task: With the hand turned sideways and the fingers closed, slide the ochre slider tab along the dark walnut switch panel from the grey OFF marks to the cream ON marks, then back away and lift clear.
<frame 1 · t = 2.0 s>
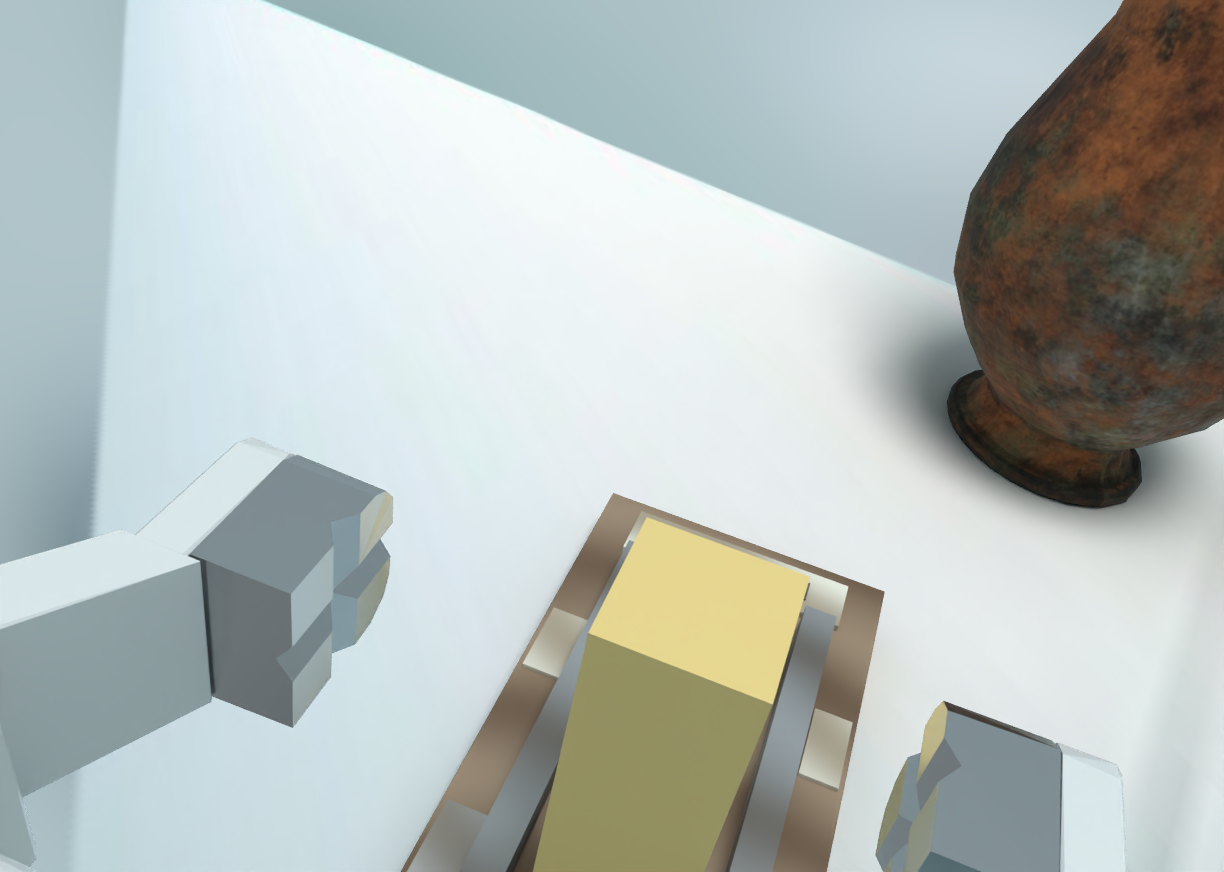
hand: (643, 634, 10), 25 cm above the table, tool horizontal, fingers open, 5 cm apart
slider tab: (646, 783, 28), point 9 cm above the table, slide at 0.0 cm
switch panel: (642, 818, 37), on the table
brown vase: (1062, 467, 58), on the table
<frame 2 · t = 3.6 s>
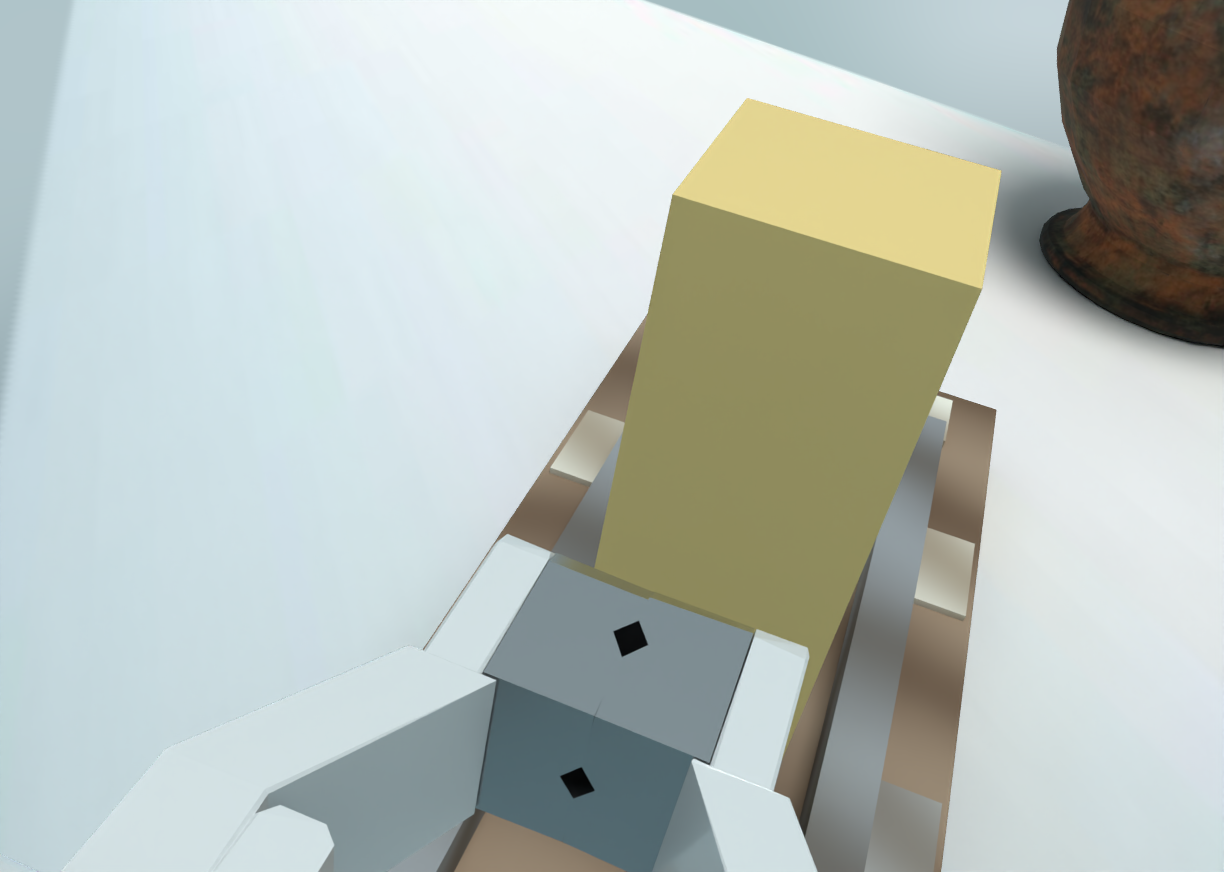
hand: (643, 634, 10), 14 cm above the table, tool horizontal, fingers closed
slider tab: (739, 532, 19), point 9 cm above the table, slide at 0.0 cm
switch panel: (708, 658, 29), on the table
brown vase: (1180, 308, 49), on the table
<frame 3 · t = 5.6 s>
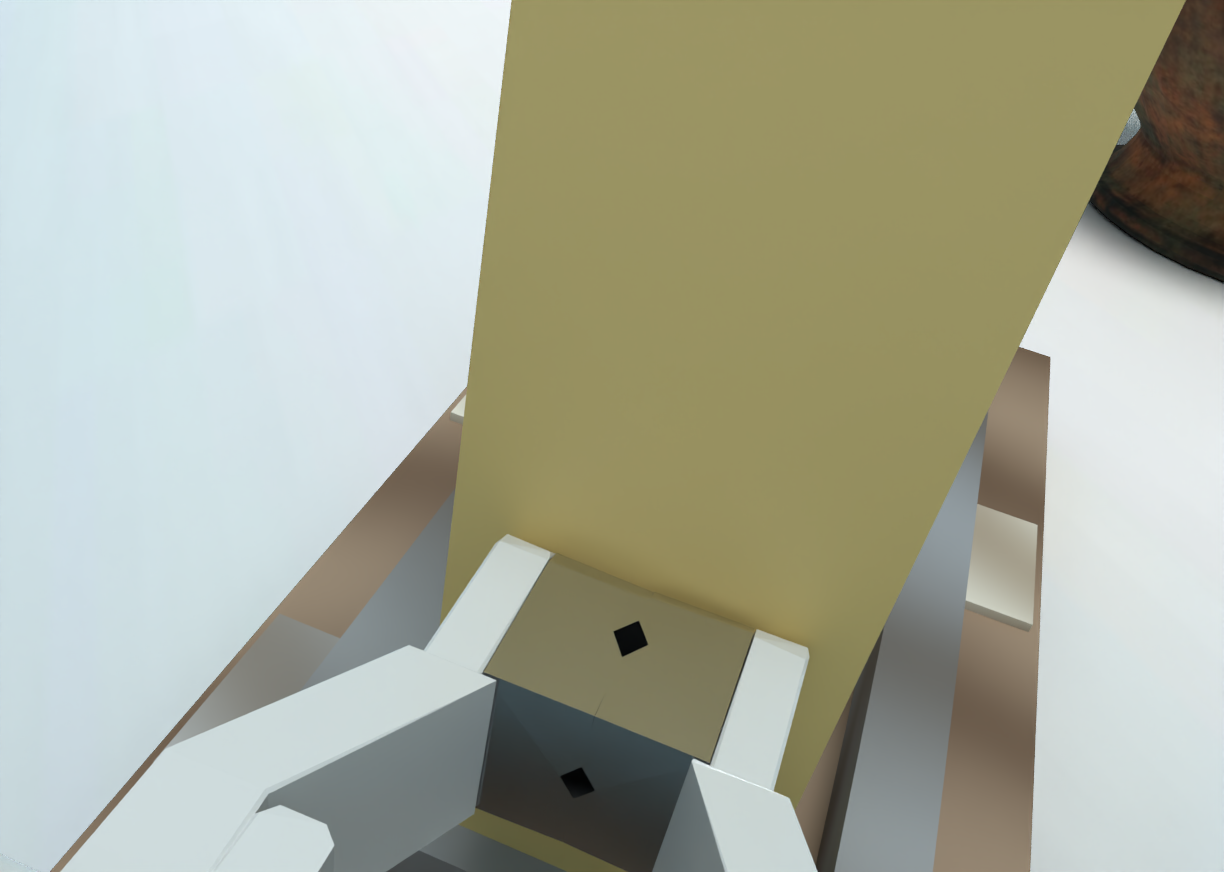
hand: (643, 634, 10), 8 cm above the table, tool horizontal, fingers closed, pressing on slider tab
slider tab: (716, 438, 11), point 9 cm above the table, slide at 0.6 cm, touching gripper
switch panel: (666, 682, 20), on the table
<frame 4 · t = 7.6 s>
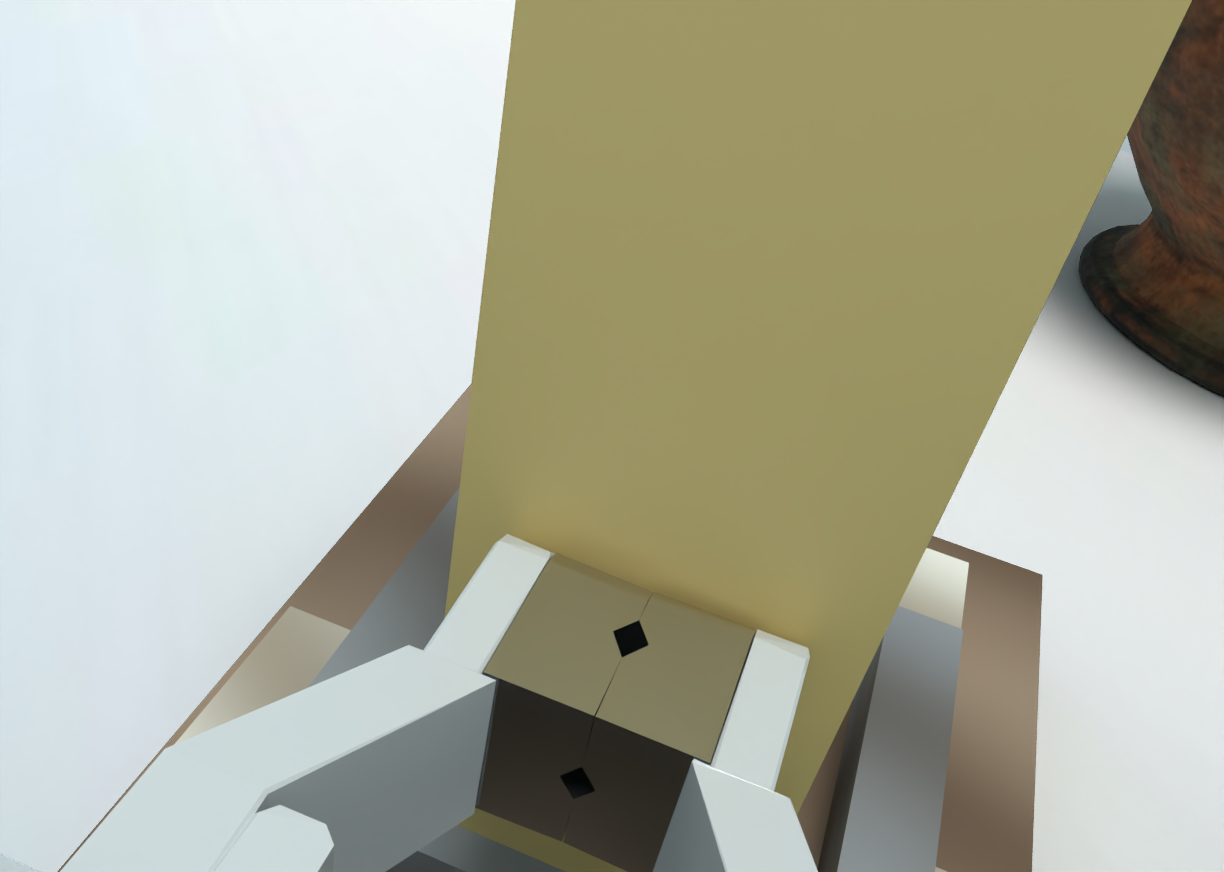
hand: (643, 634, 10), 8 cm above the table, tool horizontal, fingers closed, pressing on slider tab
slider tab: (718, 442, 11), point 9 cm above the table, slide at 9.4 cm, touching gripper
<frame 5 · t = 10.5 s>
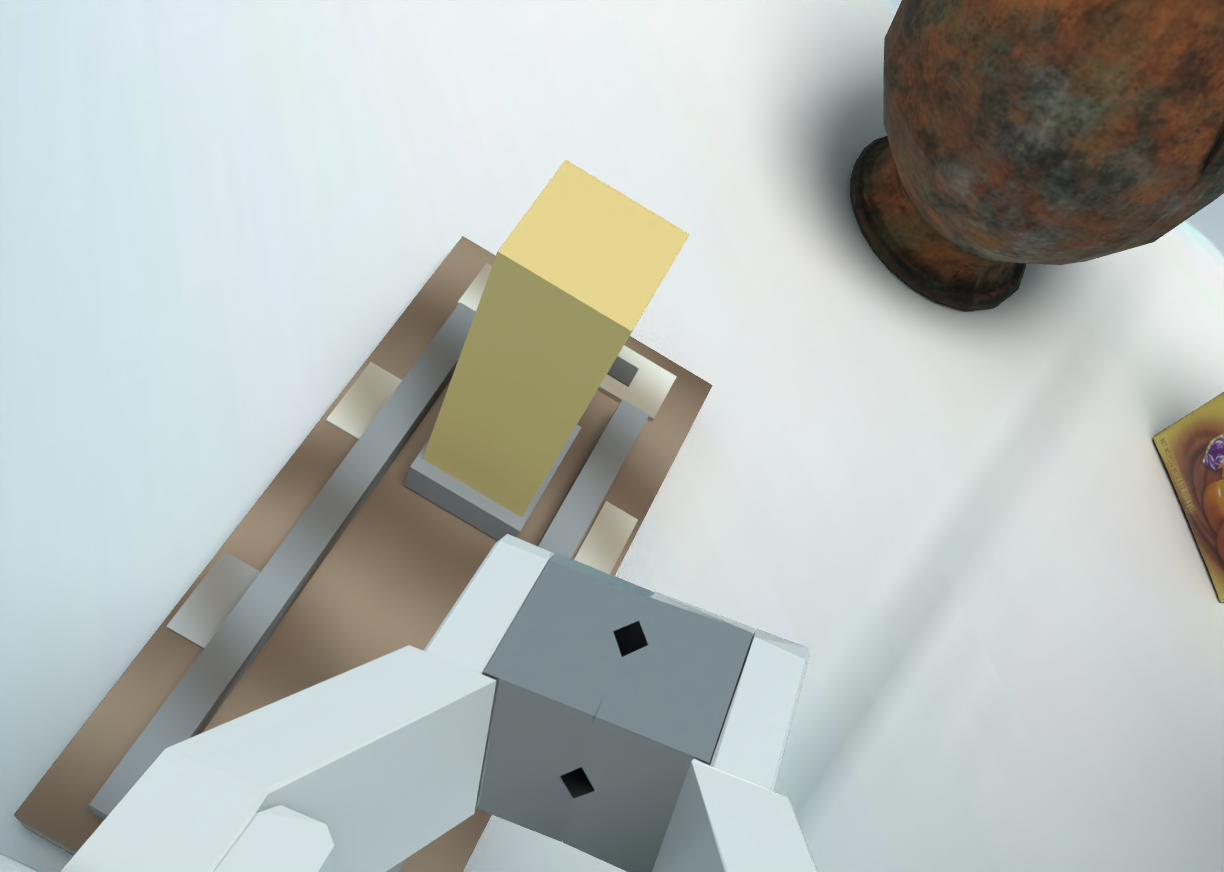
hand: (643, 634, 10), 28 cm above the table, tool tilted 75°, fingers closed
slider tab: (535, 371, 35), point 9 cm above the table, slide at 9.4 cm
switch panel: (421, 579, 40), on the table
brown vase: (946, 258, 57), on the table
candy box: (1207, 519, 54), on the table
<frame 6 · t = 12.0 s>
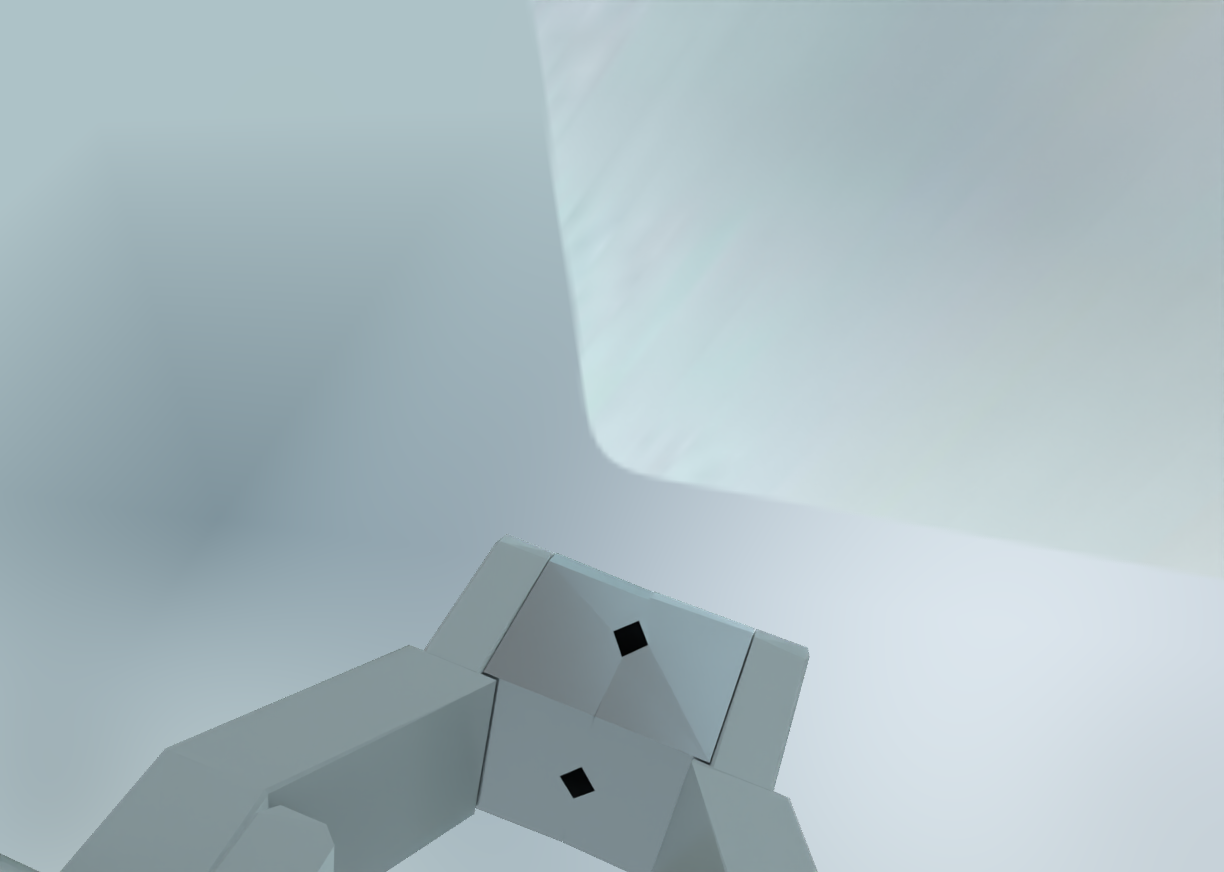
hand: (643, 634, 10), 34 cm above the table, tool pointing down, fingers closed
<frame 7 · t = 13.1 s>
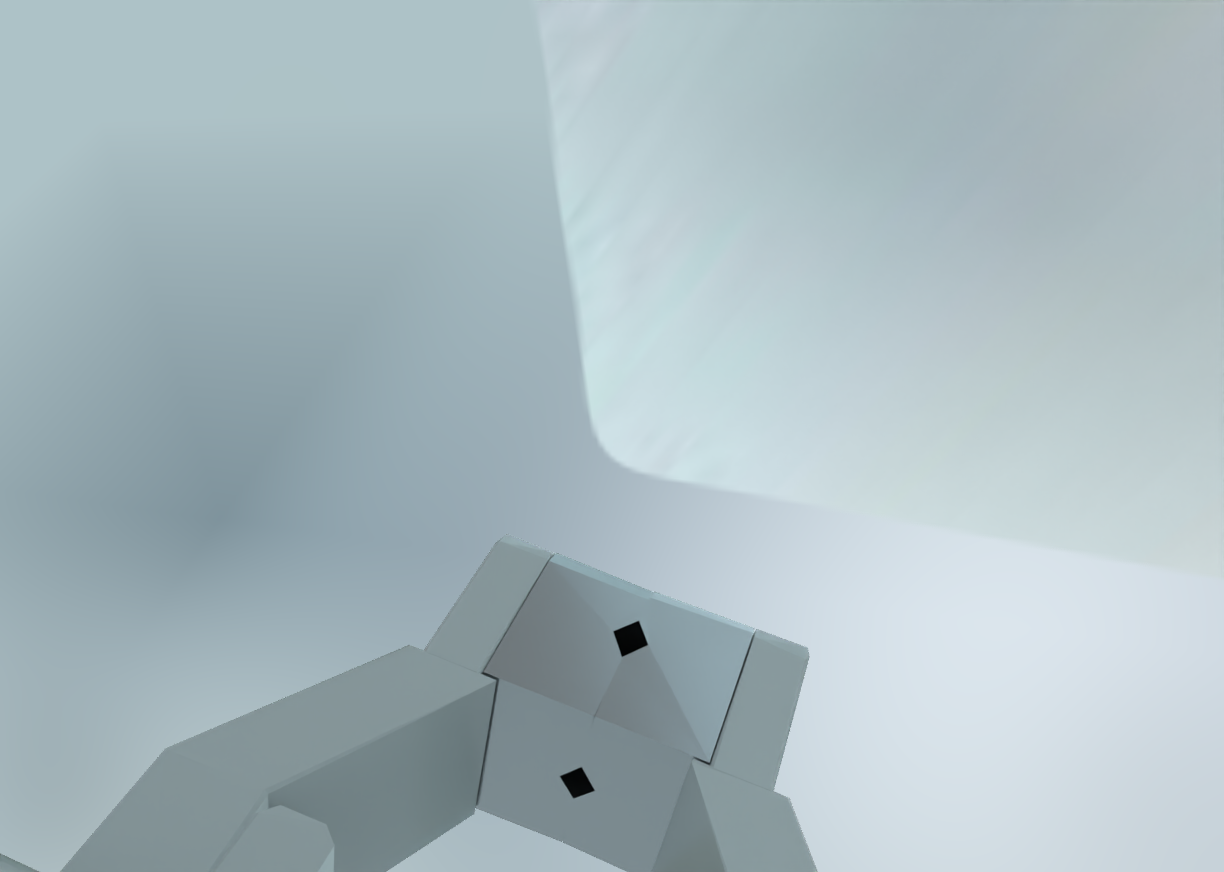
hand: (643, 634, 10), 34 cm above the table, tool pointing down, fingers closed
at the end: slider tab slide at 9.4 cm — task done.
